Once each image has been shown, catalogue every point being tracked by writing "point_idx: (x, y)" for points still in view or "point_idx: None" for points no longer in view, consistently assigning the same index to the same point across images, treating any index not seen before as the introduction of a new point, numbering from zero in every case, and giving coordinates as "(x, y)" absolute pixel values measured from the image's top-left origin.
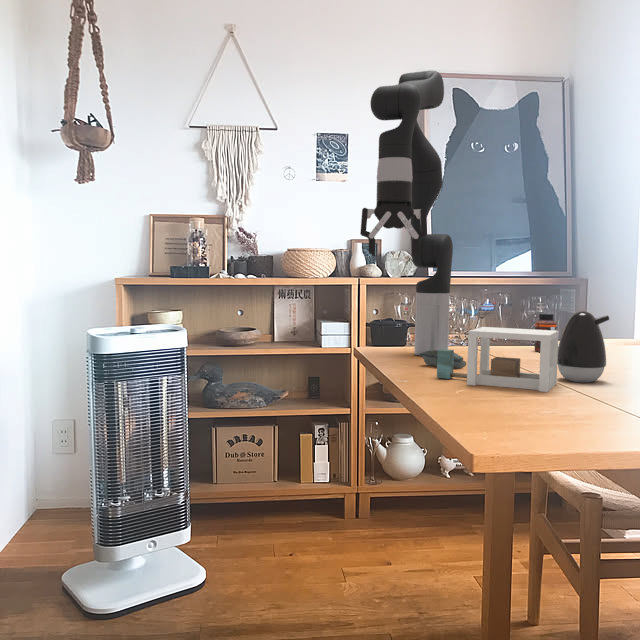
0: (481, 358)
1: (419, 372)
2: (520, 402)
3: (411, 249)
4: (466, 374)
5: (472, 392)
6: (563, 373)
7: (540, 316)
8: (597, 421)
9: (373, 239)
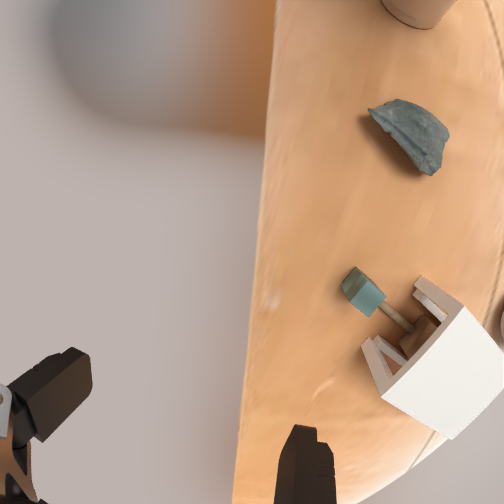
0: (428, 297)
1: (336, 206)
2: (355, 440)
3: (284, 472)
4: (384, 310)
5: (336, 395)
6: (501, 321)
7: None
8: (363, 486)
9: (35, 436)
